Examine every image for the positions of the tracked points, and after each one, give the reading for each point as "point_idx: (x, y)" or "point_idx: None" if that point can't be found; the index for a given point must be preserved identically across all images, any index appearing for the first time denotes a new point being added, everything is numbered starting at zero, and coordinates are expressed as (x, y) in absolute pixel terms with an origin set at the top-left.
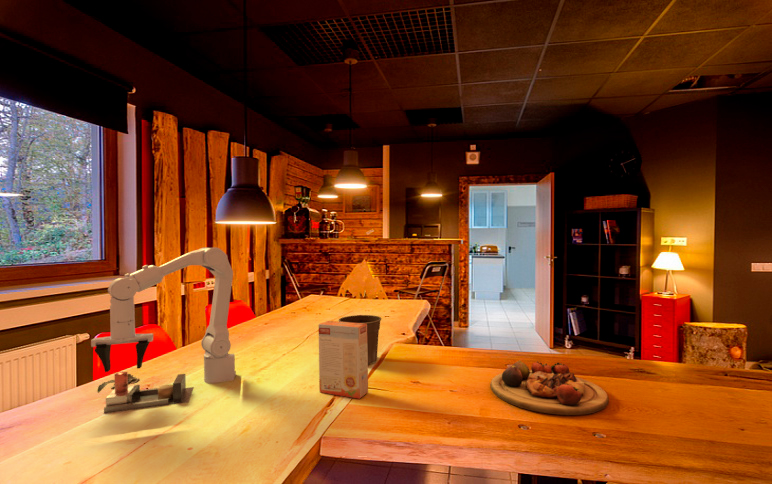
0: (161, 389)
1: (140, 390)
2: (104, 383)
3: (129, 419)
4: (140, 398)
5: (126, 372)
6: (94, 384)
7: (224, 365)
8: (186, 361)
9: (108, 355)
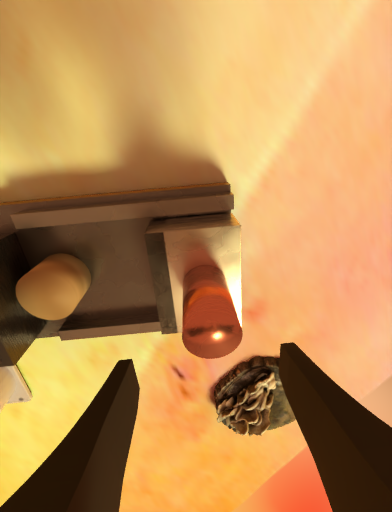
0: (50, 275)
1: None
2: None
3: (129, 141)
4: (153, 287)
5: (188, 343)
6: None
7: None
8: (151, 500)
9: (329, 466)
